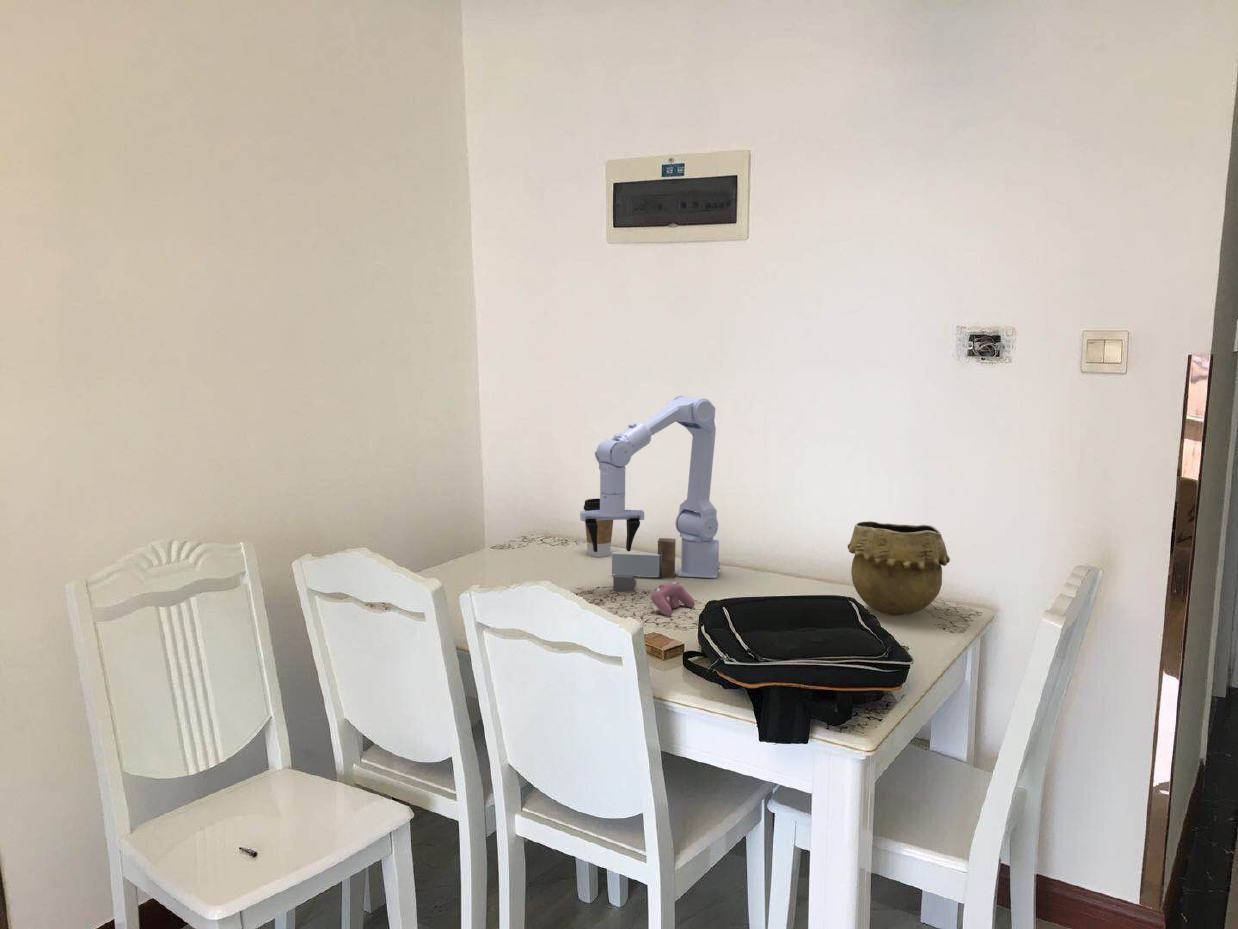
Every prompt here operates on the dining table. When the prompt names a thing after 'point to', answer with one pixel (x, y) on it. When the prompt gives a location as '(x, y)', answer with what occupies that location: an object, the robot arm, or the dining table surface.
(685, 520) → the robot arm
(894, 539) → the clay pot
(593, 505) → the coffee cup
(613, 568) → the door leaf
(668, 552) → the door post
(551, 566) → the dining table surface
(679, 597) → the video game controller
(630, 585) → the grey stepped block
